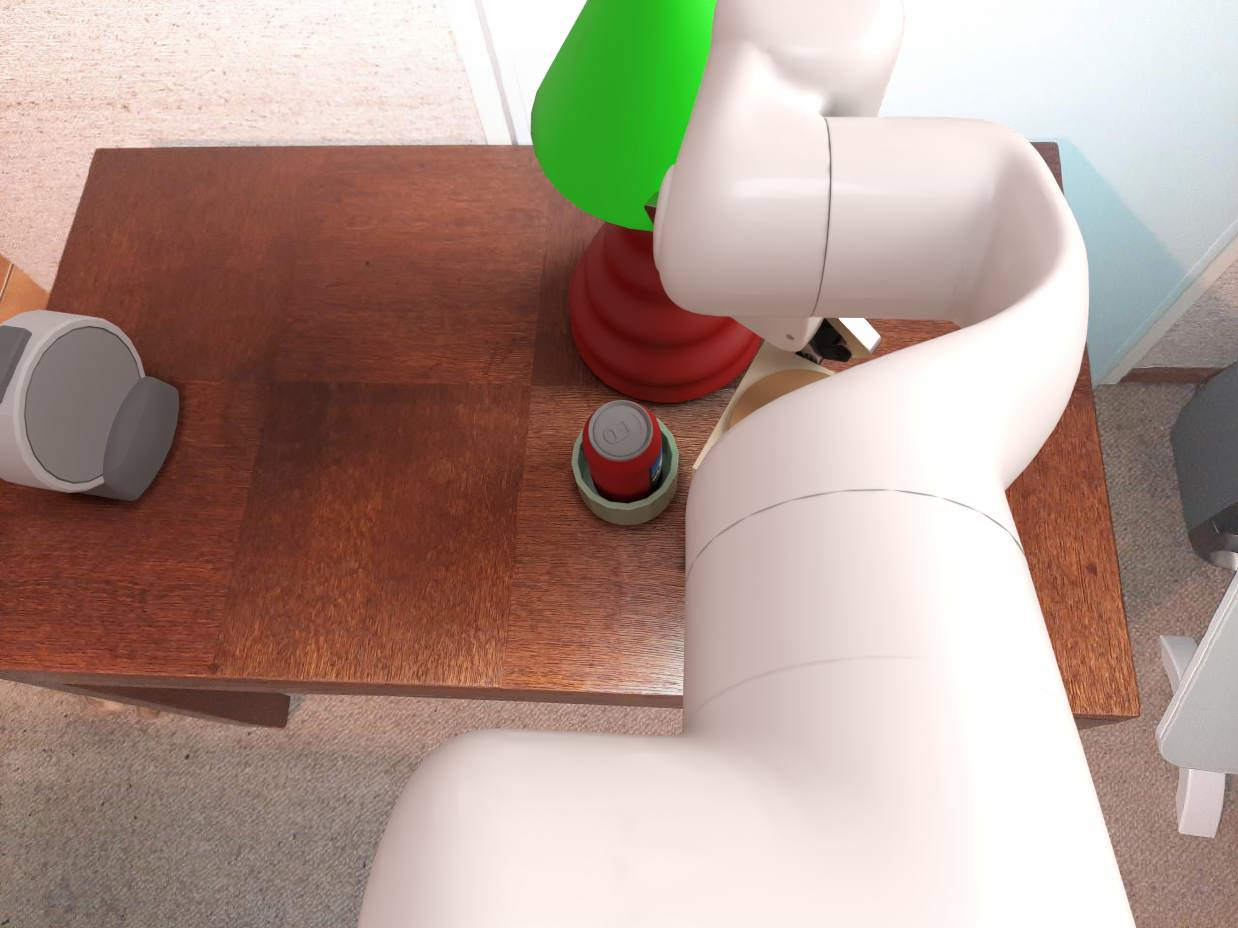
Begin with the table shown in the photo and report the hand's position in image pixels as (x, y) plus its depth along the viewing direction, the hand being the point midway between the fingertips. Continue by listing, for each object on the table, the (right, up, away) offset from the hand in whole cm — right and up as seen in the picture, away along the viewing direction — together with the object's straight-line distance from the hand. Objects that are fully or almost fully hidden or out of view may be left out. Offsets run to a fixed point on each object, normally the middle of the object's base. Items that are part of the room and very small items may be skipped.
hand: (748, 327), depth 60 cm
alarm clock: (-59, -7, +27) cm, 66 cm away
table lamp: (-4, +5, +27) cm, 28 cm away
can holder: (-8, -11, +22) cm, 26 cm away
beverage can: (-8, -11, +22) cm, 26 cm away
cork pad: (+2, -8, -7) cm, 11 cm away
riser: (+4, -17, +19) cm, 26 cm away
